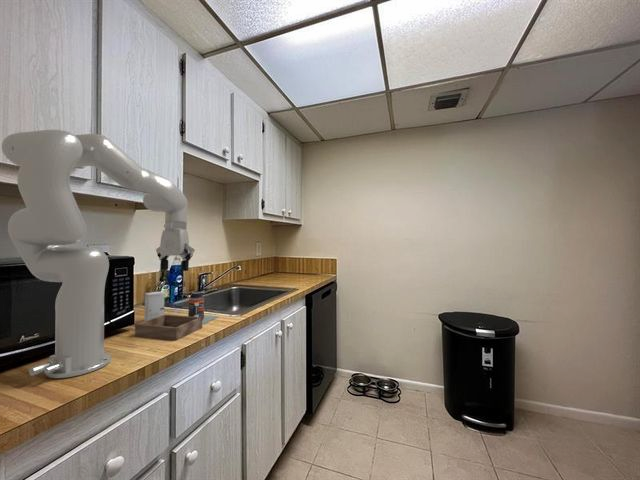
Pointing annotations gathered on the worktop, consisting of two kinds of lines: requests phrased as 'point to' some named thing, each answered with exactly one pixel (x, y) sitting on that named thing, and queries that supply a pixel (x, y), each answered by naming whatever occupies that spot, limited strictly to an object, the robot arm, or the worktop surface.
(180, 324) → the box
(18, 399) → the worktop surface
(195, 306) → the supplement bottle
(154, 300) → the skincare box
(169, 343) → the worktop surface
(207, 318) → the mat
